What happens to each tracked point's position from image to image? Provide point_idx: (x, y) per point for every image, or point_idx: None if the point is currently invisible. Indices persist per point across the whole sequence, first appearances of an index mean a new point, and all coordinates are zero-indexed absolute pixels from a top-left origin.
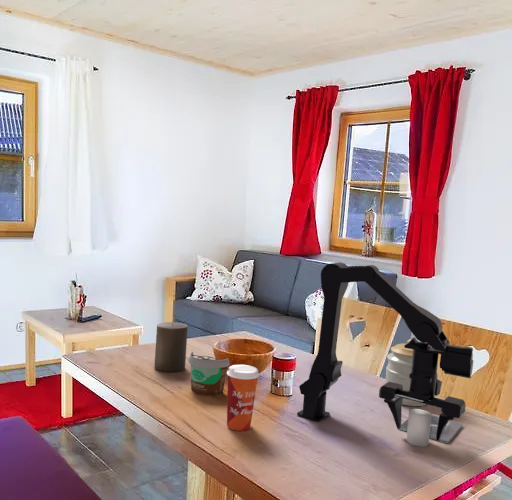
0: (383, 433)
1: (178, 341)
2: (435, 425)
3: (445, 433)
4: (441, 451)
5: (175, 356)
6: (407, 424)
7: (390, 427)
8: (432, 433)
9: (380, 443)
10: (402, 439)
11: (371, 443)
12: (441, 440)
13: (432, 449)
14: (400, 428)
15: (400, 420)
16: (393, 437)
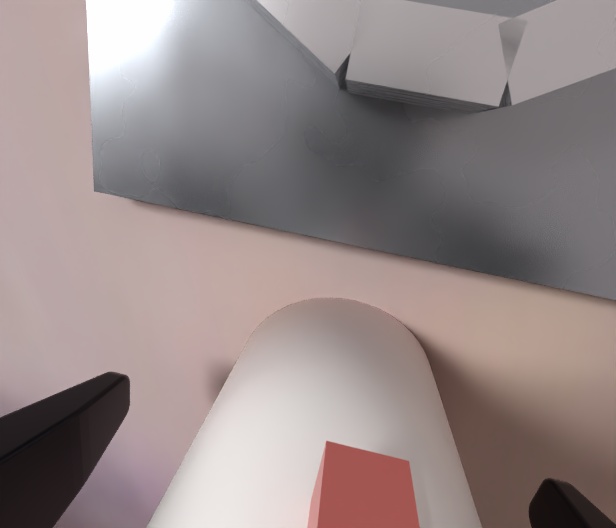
0: (53, 350)
1: None
2: (592, 25)
3: None
4: (542, 477)
5: None
6: (147, 27)
7: (36, 178)
8: (491, 162)
9: (110, 508)
10: (212, 393)
11: (69, 524)
12: (585, 290)
13: (465, 469)
14: (123, 195)
15: (53, 461)
16: (142, 388)
